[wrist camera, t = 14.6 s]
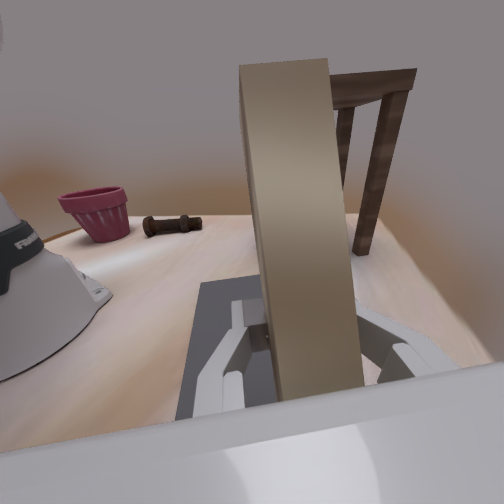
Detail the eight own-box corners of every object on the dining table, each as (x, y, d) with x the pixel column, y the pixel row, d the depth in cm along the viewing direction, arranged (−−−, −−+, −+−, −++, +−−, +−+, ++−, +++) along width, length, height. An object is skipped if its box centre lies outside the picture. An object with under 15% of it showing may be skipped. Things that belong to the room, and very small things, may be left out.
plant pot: (150, 227, 59) (134, 185, 53) (107, 249, 48) (80, 198, 42) (117, 225, 64) (99, 186, 58) (72, 244, 53) (43, 198, 46)
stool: (369, 255, 36) (417, 68, 23) (286, 266, 35) (286, 78, 22) (333, 227, 48) (350, 95, 35) (270, 235, 47) (264, 102, 34)
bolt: (203, 235, 55) (150, 240, 54) (203, 222, 58) (153, 226, 57) (198, 222, 50) (140, 227, 49) (199, 208, 53) (143, 213, 52)
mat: (445, 548, 10) (449, 547, 10) (141, 622, 9) (136, 623, 9) (294, 272, 33) (294, 269, 33) (201, 285, 32) (200, 282, 32)
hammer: (398, 52, 6) (337, 127, 9) (160, 71, 5) (192, 142, 9) (464, 712, 7) (384, 547, 10) (263, 770, 6) (255, 577, 10)
